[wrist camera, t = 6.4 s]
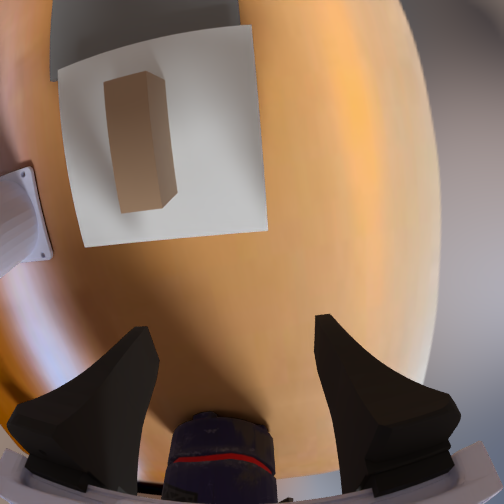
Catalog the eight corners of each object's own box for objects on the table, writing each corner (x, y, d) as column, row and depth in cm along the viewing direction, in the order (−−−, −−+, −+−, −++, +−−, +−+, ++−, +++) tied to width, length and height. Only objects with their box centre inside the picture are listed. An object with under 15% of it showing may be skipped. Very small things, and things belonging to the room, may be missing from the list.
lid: (90, 242, 17) (60, 269, 14) (64, 71, 13) (26, 65, 9) (267, 225, 17) (272, 253, 13) (251, 29, 12) (252, 3, 9)
